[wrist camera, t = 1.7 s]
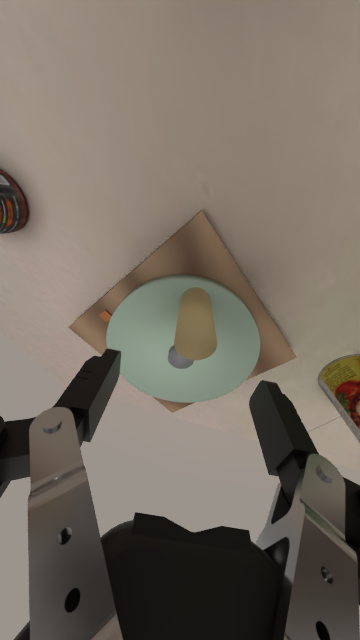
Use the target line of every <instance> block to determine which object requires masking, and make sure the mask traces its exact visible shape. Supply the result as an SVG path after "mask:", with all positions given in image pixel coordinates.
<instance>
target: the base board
mask: <svg viewBox="0 0 360 640" xmlns="http://www.w3.org/2000/svg"><path fill="white" fill-rule="evenodd" d="M175 274H188V275H195V276H201V277H204V278H208V279H211V280H213V281H216V282H218V283H220V284H222V285H224V286H225V287H227V288H229V289H230V290H231V291H232V292H234V293H235V294H236V295H237V296H238V297H239V298H240V299H241V300H242V301H243V302H244V304H245V305H246V307H247V308H248V310H249V311H250V313H251V315H252V317H253V319H254V321H255V323H256V326H257V328H258V332H259V336H260V353H259V357H258V361H257V363H256V365H255V367H254V369H253V371H252V372H251V374H250V375H249V376H248V378H247V379H249V378H252V377H254V376H256V375H258V374H261V373H263V372H265V371H267V370H270V369H272V368H274V367H276V366H279V365H281V364H283V363H286V362H288V361H290V360H292V359H295V358H297V357H296V355H295V354H294V352H293V351H292V349H291V348H290V346H289V345H288V343H287V341H286V340H285V338H284V337H283V335H282V334H281V332H280V331H279V329H278V328H277V326H276V324H275V323H274V321H273V320H272V318H271V317H270V315H269V314H268V312H267V311H266V309H265V307H264V306H263V304H262V303H261V301H260V300H259V298H258V297H257V295H256V293H255V292H254V290H253V289H252V287H251V286H250V284H249V283H248V281H247V280H246V278H245V276H244V275H243V273H242V272H241V270H240V269H239V267H238V266H237V264H236V263H235V261H234V259H233V258H232V256H231V255H230V253H229V252H228V250H227V249H226V247H225V246H224V244H223V242H222V241H221V239H220V238H219V236H218V235H217V233H216V232H215V230H214V228H213V227H212V225H211V224H210V222H209V221H208V219H207V218H206V216H205V215H204V213H203V211H202V210H201V211H200V212H199V213H198V214H197V215H196V216H194V217H193V218H192V219H191V220H190V221H189V222H188V223H186V224H185V225H184V226H183V227H182V228H181V229H180V230H178V231H177V232H176V233H175V234H174V235H173V236H172V237H170V238H169V239H168V240H167V241H166V242H165V243H164V244H162V245H161V246H160V247H159V248H158V249H157V250H156V251H154V252H153V253H152V254H151V255H150V256H149V257H148V258H146V259H145V260H144V261H143V262H142V263H141V264H140V265H138V266H137V267H136V268H135V269H134V270H133V271H132V272H130V273H129V274H128V275H127V276H126V277H125V278H124V279H122V280H121V281H120V282H119V283H118V284H117V285H116V286H114V287H113V288H112V289H111V290H110V291H109V292H108V293H106V294H105V295H104V296H103V297H102V298H101V299H100V300H98V301H97V302H96V303H95V304H94V305H93V306H92V307H90V308H89V309H88V310H87V311H86V312H85V313H84V314H82V315H81V316H80V317H79V318H78V319H77V320H76V321H75V322H74V323H73V324H71V325H70V326H69V327H68V328H70V329H71V330H72V331H73V332H75V333H76V334H77V335H78V336H79V337H81V338H82V339H83V340H84V341H86V342H87V343H88V344H89V345H90V346H92V347H93V348H94V349H95V350H96V351H98V352H99V353H100V354H101V355H103V353H104V352H105V350H106V349H107V342H106V335H107V328H108V324H109V321H110V319H111V317H112V315H113V313H114V312H115V310H116V309H117V307H118V306H119V305H120V303H121V302H122V301H123V300H124V298H125V297H126V296H127V295H128V294H129V293H130V292H131V291H133V290H134V289H135V288H137V287H138V286H140V285H142V284H143V283H145V282H147V281H150V280H152V279H155V278H158V277H162V276H166V275H175ZM247 379H246V380H247ZM154 398H155V399H156V400H157V401H159V402H160V403H161V404H162V405H163V406H165V407H166V408H167V409H168V410H170V411H171V412H175V411H177V410H179V409H181V408H184V407H186V406H188V405H190V404H193V403H195V402H191V403H183V402H173V401H167V400H163V399H159V398H156V397H154Z"/></svg>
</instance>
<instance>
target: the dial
mask: <svg viewBox="0 0 360 640" xmlns="http://www.w3.org/2000/svg"><path fill="white" fill-rule="evenodd" d="M106 342H107V348H109V349H114V350H119V351H121V363H120V374H121V376H122V377H123V378H124V379H125V380H126V381H128V382H129V383H130V384H131V385H133V386H134V387H136V388H137V389H139V390H140V391H142V392H144V393H146V394H148V395H151V396H153V397H156V398H159V399H163V400H167V401H173V402H183V403H191V402H202V401H207V400H211V399H214V398H218V397H220V396H222V395H225V394H227V393H229V392H230V391H232V390H234V389H235V388H237V387H238V386H239V385H240V384H242V383H243V382H244V381H245V380H246V379H247V378H248V376H249V375H250V374H251V372H252V371H253V369H254V367H255V365H256V363H257V361H258V357H259V353H260V336H259V332H258V328H257V326H256V323H255V321H254V319H253V317H252V315H251V313H250V311H249V310H248V308H247V307H246V305H245V304H244V302H243V301H242V300H241V299H240V298H239V297H238V296H237V295H236V294H235V293H234V292H232V291H231V290H230V289H229V288H227V287H225V286H224V285H222V284H220V283H218V282H216V281H213V280H211V279H208V278H204V277H201V276H195V275H188V274H175V275H166V276H162V277H158V278H155V279H152V280H150V281H147V282H145V283H143V284H142V285H140V286H138V287H137V288H135V289H134V290H133V291H131V292H130V293H129V294H128V295H127V296H126V297H125V298H124V300H123V301H122V302H121V303H120V305H119V306H118V307H117V309H116V310H115V312H114V313H113V315H112V317H111V319H110V321H109V324H108V328H107V335H106Z"/></svg>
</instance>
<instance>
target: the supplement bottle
mask: <svg viewBox="0 0 360 640" xmlns="http://www.w3.org/2000/svg"><path fill="white" fill-rule="evenodd" d="M26 218H27V208H26V203H25V200H24V197H23V194H22V193H21V191H20V189H19V188H18V186H17V185H16V184H15V183H14V181H13V180H12V179H11V178H10V177H9V176H8V175H7V174H6V173H4V172H3V171H1V170H0V234H3V233H10V232H14V231H17V230H19V229H20V228H21V227H22V226H23V225H24V223H25V221H26Z"/></svg>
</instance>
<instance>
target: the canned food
mask: <svg viewBox="0 0 360 640" xmlns="http://www.w3.org/2000/svg"><path fill="white" fill-rule="evenodd" d="M318 382H319V385H320V387H321V388H322V390H323V391H324V393H325V394H326V395H327V397H328V398H329V400H330V401H331V403H332V404H333V405H334V407H335V408H336V410H337V411H338V413H339V414H340V415H341V417H342V418H343V420H344V421H345V423H346V424H347V425H348V427H349V428H350V430H351V431H352V433H353V434H354V435H355V437H356V438H357V440H358V441H359V443H360V355H350V356H346V357H342V358H339V359H337V360H335V361H333V362H331V363H330V364H328V365H327V366H326V367H325V368H324V369H323V370H322V371H321V373H320V374H319V378H318Z"/></svg>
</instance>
